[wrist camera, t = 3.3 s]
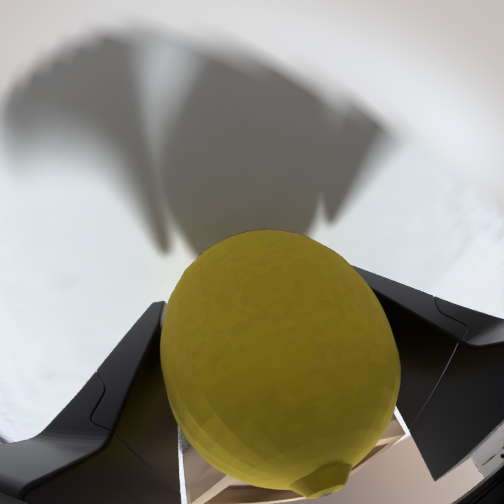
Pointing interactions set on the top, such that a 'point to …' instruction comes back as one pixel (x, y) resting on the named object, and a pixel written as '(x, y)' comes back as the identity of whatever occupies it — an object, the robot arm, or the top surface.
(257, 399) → the lemon
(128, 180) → the top surface
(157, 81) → the top surface
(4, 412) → the top surface
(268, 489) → the tan open box
